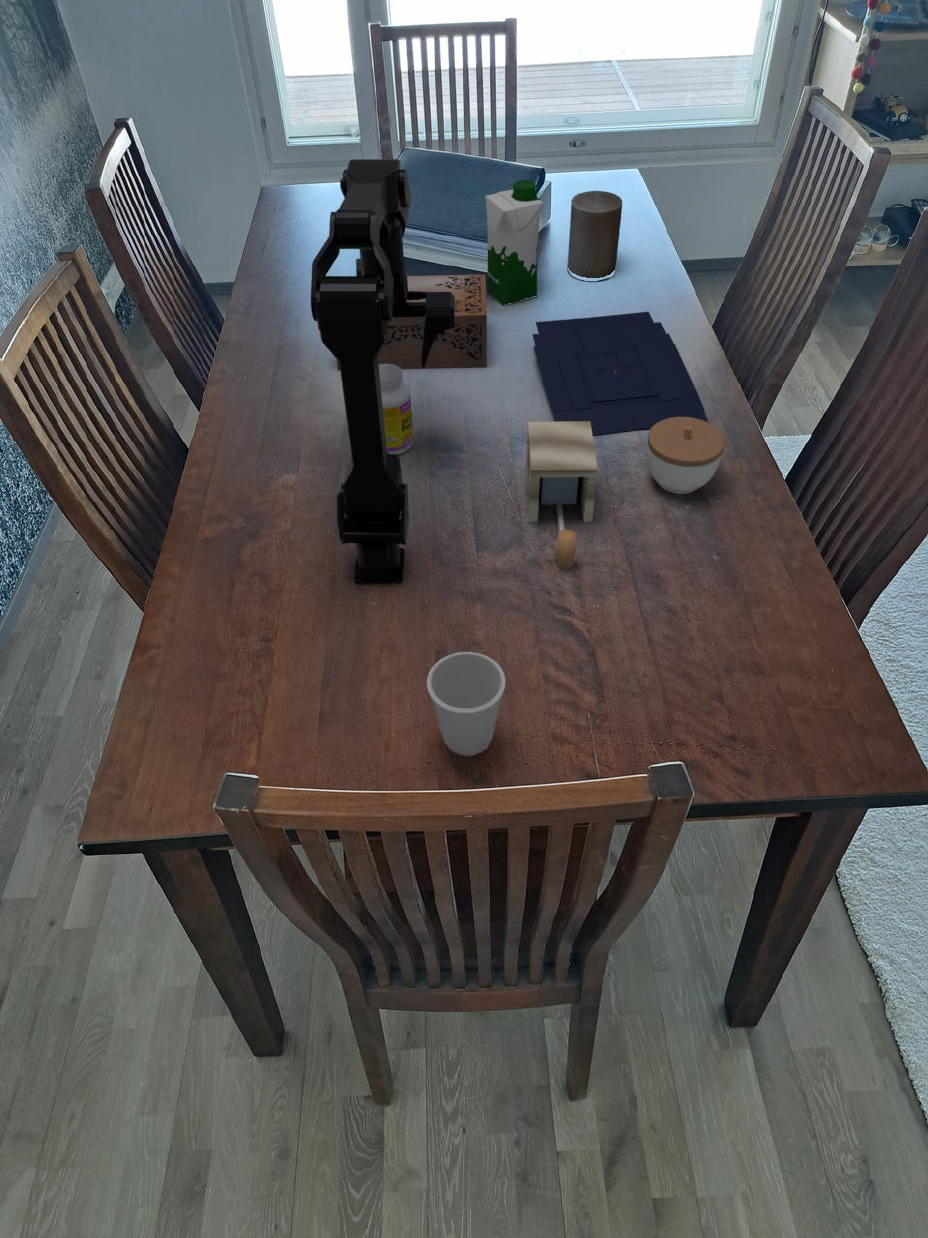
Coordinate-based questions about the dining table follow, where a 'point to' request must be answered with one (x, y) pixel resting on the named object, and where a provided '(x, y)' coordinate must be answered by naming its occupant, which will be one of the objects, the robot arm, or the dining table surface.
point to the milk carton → (513, 242)
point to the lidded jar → (683, 453)
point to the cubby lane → (561, 460)
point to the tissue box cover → (456, 344)
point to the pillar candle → (594, 233)
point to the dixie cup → (466, 699)
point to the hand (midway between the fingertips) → (391, 366)
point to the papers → (614, 372)
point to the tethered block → (561, 514)
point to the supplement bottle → (396, 409)
